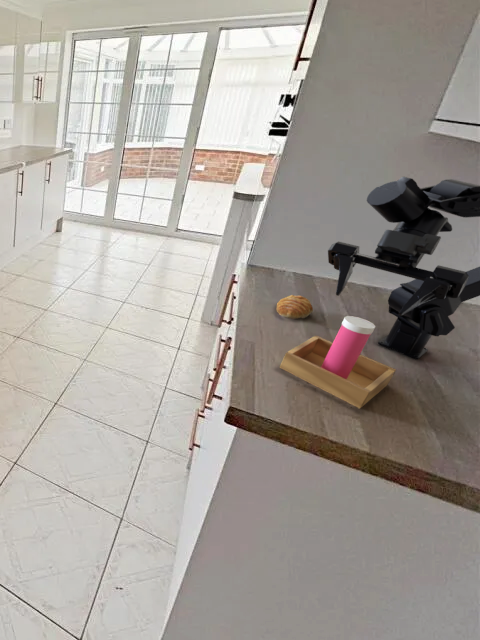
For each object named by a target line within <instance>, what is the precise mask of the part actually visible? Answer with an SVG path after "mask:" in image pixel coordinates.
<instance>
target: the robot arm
mask: <svg viewBox="0 0 480 640" xmlns="http://www.w3.org/2000/svg"><path fill="white" fill-rule="evenodd" d="M366 202H367V204H368V205H370V206H371V208H372V209H374V211H376V213H378V214H379V215H380V216H381V217H382V218H383V219H384V220H386V222H389V223H394V224H396V225H395V226H394V228H393V229H385V230H384V232H383V234H382V235H381V238H380V239H379V241H378V243H377V245H376V248H375V250H374V254H375V256H371V255H367V254H364V253H360V246H359V245H355V244H351V243H347V242H342V241H336V242H334V243H332V244H331V245H330V247H329V248H328V249H327V258H328V259H327V260H328V264H330V265H332V266H333V269H334V270H336V271H338V280H337V285H336V291H335V296H340V295H341V294H342V292H343V291H344V289H345V288H346V285H347V283H348V281H349V280H350V278H351V276H352V274H353V271H354V270H353V268H355V267H356V265H357V264H359V265H362V266H365V267H369V268H373V269H377V270H381V271H385V272H389V273H391V274H395V275H400V276H403V277H407V278H411V279H413V280H411V281H408V282H404V283H400V284H399V286H398V287H396V288H393V290H392V291H391V293H390V294H389V296H388V299H387V304H388V313H389V314H391V315H393V316H394V317H396V319H395V321H394V323H393V325H392V327H391V329H390V330H389V332H388V334H387V335H386V336H384V337H383V338H382V339H380V340H378V342H377V344H378V345H380V346H382V347H385V348H388V349H389V350H392V351H395V352H397V353H400V354H402V355H404V356H407V357H409V358H412V359H415V360H419V359H420V358H421V357H422V356H424V355H425V354H426V353H427V352H428V350H429V349H428V348H427V347H426V346H427V344H428V342H429V341H430V339H431V337H432V336H433V337H439V336H448V335H449V334H450V333H451V332H452V331H453V330H454V329H455V328H456V326H455V325H454V324H453V322H452V321H451V319H450V317H451V315H453V314H455V312H456V311H457V310H458V308H459V307H460V305H461V304H462V303H464V302H466V301H469V300H471V299H472V300H473V299H474V298H477V297H480V266H477V267H475V268H472V269H470V270H467V271H464V270H459V269H455V268H452V267H447V266H443V265H440V264H439V265H437V266H436V267H435V268H434V270H433V271H432V270H428V269H423V268H419V267H418V265H419V263H420V262H421V260H422V259H423V258H424V256H425V255H429V256H432V255H433V254H434V253H435V251H436V249H437V247H438V245H439V243H440V241H441V239H442V236H440V235H439V233H447V232H448V233H449V232H452V231H453V226H452V224H451V223H450V222H449V218H448V217H446V216H444V215H443V214H442V212H444V213H446V214H447V213H448V214H449V215H454V216H457V217H460V218H480V184H475V183H471V182H467V181H463V180H457V179H451V178H449V179H443V180H441V181H440V182H439V183H437V184H435V185H430V186H425V187H422V188H421V187H420V186H419V185H418V183H417V182H416V181H415V179H413V178H411V177H408V176H401V177H400V178H399V179H398V180H395V181H390V182H386V183H384V184H381V185H379V186H376V187H375V188H373V189H372V190H371V191H370V192H369V194H368V195H367V197H366ZM449 316H450V317H449Z"/></svg>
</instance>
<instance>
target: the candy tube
mask: <svg viewBox="0 0 480 640" xmlns="http://www.w3.org/2000/svg"><path fill="white" fill-rule="evenodd" d="M375 329H376V325H375V324H374V322H371V321H369V320H367V319H365V318H362V317H358V316H352V315H345V316H344V318H343V319H342V322H341V326H340V328H339V329H338V332H337V334H336V336H335V337H334V340H333V344H332V346H331V348H330V350H329V352H328V354H327V356H326V358H325V360H324V362H323V364H322V366H321V368H323V369H325V370H328V371H330V372H332V373H334V374H336V375H338V376H340V377H342V378H344V379H347V378H348V376H349V374H350V372H351V370H352V368H353V367H354V365H355V363H356V361H357V359H358V357H359V355H360V354H362V351H363V350H364V348H365V346H366V344H367V342H368V340H369V339H370V336H371V335H372V334H373V333H374V331H375Z"/></svg>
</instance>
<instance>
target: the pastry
mask: <svg viewBox="0 0 480 640" xmlns="http://www.w3.org/2000/svg"><path fill="white" fill-rule="evenodd" d="M313 312H314V308H313V305H312V303H311V300H310V299H308V298H307V297H304V296H303V295H294V294H291V295H288V296H286V297H283V298H281V299H279V301H277V303H276V313H277V314H279V315H280V316H281V317H283V318H287V319H291V320H298V319H306V318H307V317H309V315H310V314H312V313H313Z"/></svg>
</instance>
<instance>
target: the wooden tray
mask: <svg viewBox="0 0 480 640" xmlns="http://www.w3.org/2000/svg"><path fill="white" fill-rule="evenodd" d="M333 342H334V341H333ZM333 342H332V341H330V340H328V339H325V338H323V337H321V336H318V335H314V336H312V337H311V338H309V339H307V340H305V341H303V342H302V343H300V344H299V345H297V346H295V347H293V348H292V349H290V350H288V351H286V352H285V354H284V356H283V359H282V361H281V363H280V366H279V368H280V369H281V370H283V371H284V372H285V371H286V372H287V373H289V374H291V375H293V376H295V377H296V378H299V379H301V380H303V381H305V382H307V383H309V384H311V385H312V386H314V387H317V388H318V389H321V390H323V391H324V392H327V393H329V394H330V395H333V396H334V397H336V398H338V399H340V400H342V401H344V402H347V404H350V405H351V406H354V407H356V408H357V409H362V408H363V406H365V405H366V404H368V403H369V402H370V401H371V400H372V399H373V398H374V397H376V396H377V395H378V394H379V393H380V392H381V391H382V390H384V389H385V388H386V387H387V386H388V385H389V383H390V381H391V380H392V379H393V376H394V375H395V373H396V372H397V369H396V368H393V367H391V366H389V365H387V364H384V363H381V362H380V361H377V360H376V359H375V360H374V359H372V358H370V357H369V356H368V357H367V356H366V355H363V354H362V353H360V355H359V357H358V359H357V361H356V363H355V365H354V367H353V368H352V370H351V372H350V374H349V376H348V378H347V379H344V378H342V377H340V376H338V375H336V374H334V373H332V372H330V371H328V370H325V369H323V368H321V366H322V364H323V362H324V360H325V358H326V356H327V354H328V352H329V350H330V348H331V346H332V344H333Z"/></svg>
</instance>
